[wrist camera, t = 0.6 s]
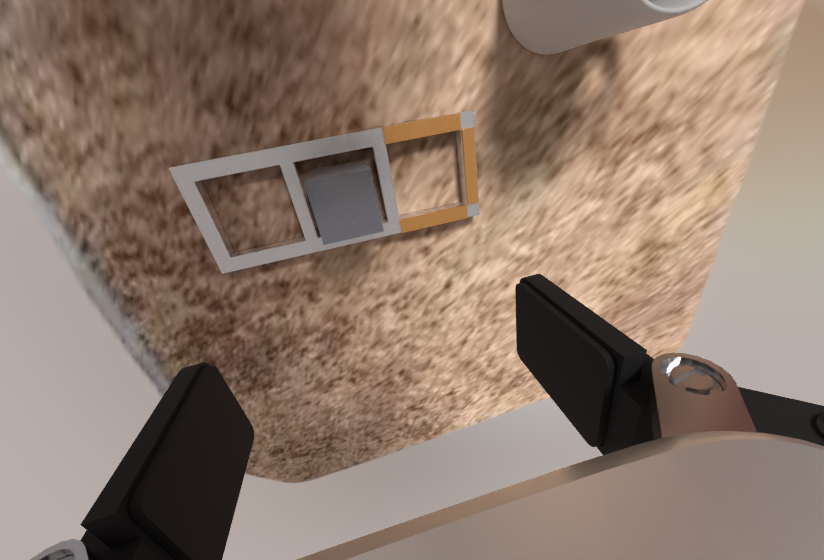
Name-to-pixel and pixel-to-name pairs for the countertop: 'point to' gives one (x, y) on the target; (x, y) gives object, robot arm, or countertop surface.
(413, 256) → the countertop surface
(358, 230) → the grey rectangular block
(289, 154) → the grey flat frame
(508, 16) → the mug
